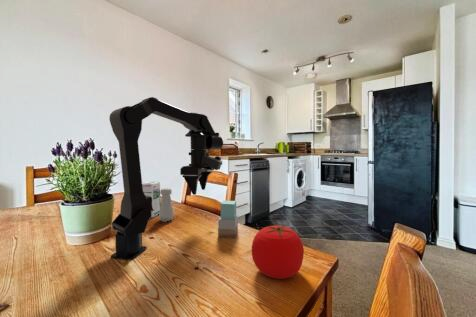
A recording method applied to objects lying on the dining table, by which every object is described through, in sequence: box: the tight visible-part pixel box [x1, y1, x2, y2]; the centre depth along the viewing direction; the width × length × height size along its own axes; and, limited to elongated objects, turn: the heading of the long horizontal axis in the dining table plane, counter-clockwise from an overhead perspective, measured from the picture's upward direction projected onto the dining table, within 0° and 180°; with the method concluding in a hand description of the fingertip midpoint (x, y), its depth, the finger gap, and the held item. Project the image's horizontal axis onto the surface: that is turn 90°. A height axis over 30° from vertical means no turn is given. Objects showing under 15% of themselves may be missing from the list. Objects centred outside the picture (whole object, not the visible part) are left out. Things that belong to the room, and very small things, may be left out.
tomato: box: [251, 224, 305, 280], centre depth 48 cm, size 12×12×10 cm
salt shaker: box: [158, 187, 175, 223], centre depth 84 cm, size 6×6×13 cm
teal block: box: [220, 200, 237, 219], centre depth 69 cm, size 4×4×5 cm
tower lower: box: [217, 224, 239, 239], centre depth 69 cm, size 6×6×3 cm
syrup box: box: [142, 181, 161, 218], centre depth 90 cm, size 6×6×14 cm
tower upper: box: [217, 214, 239, 230], centre depth 69 cm, size 6×6×3 cm
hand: (199, 191), depth 76 cm, fingers open, 9 cm apart
